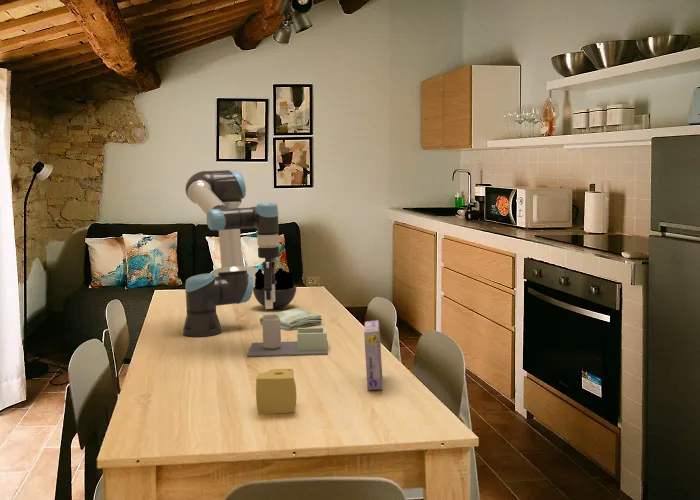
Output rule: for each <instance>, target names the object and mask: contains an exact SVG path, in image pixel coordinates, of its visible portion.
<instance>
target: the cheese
mask: <svg viewBox="0 0 700 500" xmlns="http://www.w3.org/2000/svg"><path fill="white" fill-rule="evenodd" d="M294 377H295V375H294V369H293V368H272V369H269V370H267V371H266V372H259V373H257V375H256V379H255V381H256V382H255V398H256V401H255V402H256V409H257V415H259V416H261V415H275V414H276V415H277V414H278V415H279V414H293V413H295V412H296V408H297V407H296V406H297V385H296V381H295V378H294Z"/></svg>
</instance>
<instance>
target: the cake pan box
mask: <svg viewBox="0 0 700 500" xmlns="http://www.w3.org/2000/svg"><path fill="white" fill-rule="evenodd" d="M363 331H364V337H363V338H364V351H365V370H366V373H365V374H366V386H367V390H368V391H383V368H382V367H383V365H382V364H383V362H382V345H381V332H380V321H379V319H378V320H369V321H365V322H364V330H363Z"/></svg>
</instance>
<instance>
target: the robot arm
mask: <svg viewBox="0 0 700 500" xmlns="http://www.w3.org/2000/svg"><path fill="white" fill-rule="evenodd" d="M184 189H185V195H186V197H187V198H188V200H190V202H192V203H194V204H196V205H197V206H198V207H199V208H200V209H201V210H202V211H203V212H204V213H205V215H206V224H207V227H208V229H209V230H211V231H218V237H219V238H218V239H219V251H220V254H219V255H220V268H219V270H218V271H217V275H218V276H216V275H215V274H214V273H212V272H211V273H210V272H209V273H200V274H196V275H193V276H190V277H188V278H187V279H186V280H185V286H184V287H185V289H184V291H185V302H186V303H185V305H186V316H185V320H184V324H183V329H182V334H183V335H184V336H185V335H187V336H186V337H191V336H194V338H197V337H198V338H200V337H212V336H215V335H220V334H221V333H222V325H221V322H220V320H219V317H218V314H217V306H225V305H234V304H236V305H238V304H243V303H247V302H249V301H250V299H251V297H252V295H253V288H254V280H253V276H252V275H251V274H250V273H248V270H247V268H246V267H245V266H244V263H243V254H242V253H243V251H242V240H241V239H242V238H241V230H243V229H256V232H257V233H256V234H257V235H256V236H257V238H256V239H257V246H258V248H257V257H258V258H260V259H264V261H263V262H262V267H263V274H264V288H262V290H263V291H265V307H264V309H265V310H274V309H273V302H275V284H277V281H275V276H274V274H275V270H276V269H275V268H276V262H275V258H276V259H277V258H279V257H280V247H279V244H280V243H279V241H280V240H281V236H279V209H278V204H277V202H276V203H275V202H258V203H257V204H256V206H251V207H239V206H240V205H241V204H242V203H243V201H242V200H243V199H245V198H246V196H247V195H246V194H247V193H246V192H247V187H246V181H245V179H244V177H243V174H242V173H241V172H240V171H238V170H231V169H227V170H225V169H224V170H202V171H198V172H196V173H194V174H192V175H191V176H190V177H189V179H187V181H186V185H185V188H184Z"/></svg>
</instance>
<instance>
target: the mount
mask: <svg viewBox="0 0 700 500" xmlns="http://www.w3.org/2000/svg"><path fill="white" fill-rule="evenodd" d="M327 329H328V328H327V326H324V327H323V326H322V327H303V328H298V329H297V334H296V337H297V338H296V339H297V341H295V340H294V341H293V340H292V341H281V347H279V349H274V350H268V349H265V348H264V347H263V341H262V342H252V343H251V344H250V347H249V350H248V352H247V355H246V357H247V358H263V357H264V358H266V357H267V358H270V357H295V356H296V357H299V356H301V357H302V356H303V357H304V356H327V355H328V352H329V351H328V349H329V348H328V345H329V343H328V337H327V336H328V335H327V334H328V333H327Z"/></svg>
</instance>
